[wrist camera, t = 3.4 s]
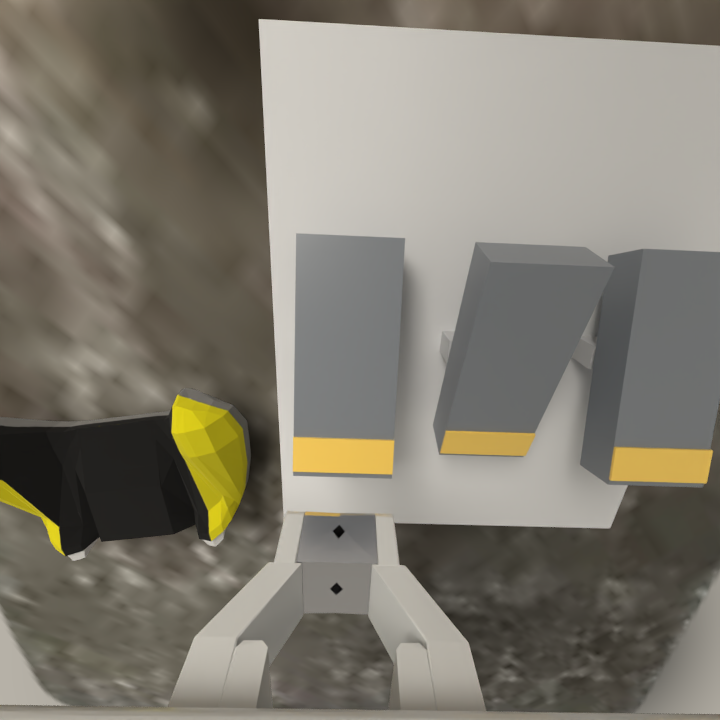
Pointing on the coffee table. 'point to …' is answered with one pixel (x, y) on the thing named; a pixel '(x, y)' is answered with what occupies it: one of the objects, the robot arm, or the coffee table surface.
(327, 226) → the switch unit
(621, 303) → the block
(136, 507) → the gaming controller
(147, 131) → the coffee table surface
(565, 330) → the block
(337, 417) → the block
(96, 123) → the coffee table surface
